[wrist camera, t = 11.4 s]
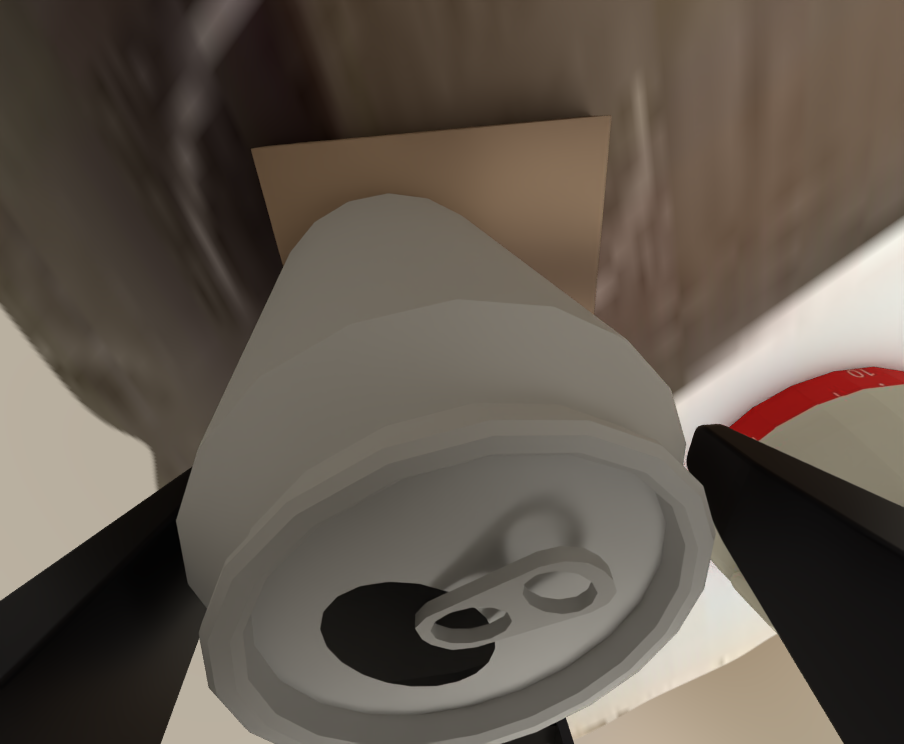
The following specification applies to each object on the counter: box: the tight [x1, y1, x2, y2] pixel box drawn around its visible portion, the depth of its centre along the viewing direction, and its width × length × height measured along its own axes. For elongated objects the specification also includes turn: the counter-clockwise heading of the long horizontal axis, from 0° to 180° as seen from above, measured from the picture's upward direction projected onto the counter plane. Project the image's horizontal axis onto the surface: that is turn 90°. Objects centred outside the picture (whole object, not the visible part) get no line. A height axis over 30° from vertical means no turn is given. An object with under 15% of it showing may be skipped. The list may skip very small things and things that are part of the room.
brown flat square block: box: [251, 115, 611, 315], centre depth 17 cm, size 11×11×2 cm
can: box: [176, 193, 716, 744], centre depth 10 cm, size 8×8×12 cm
